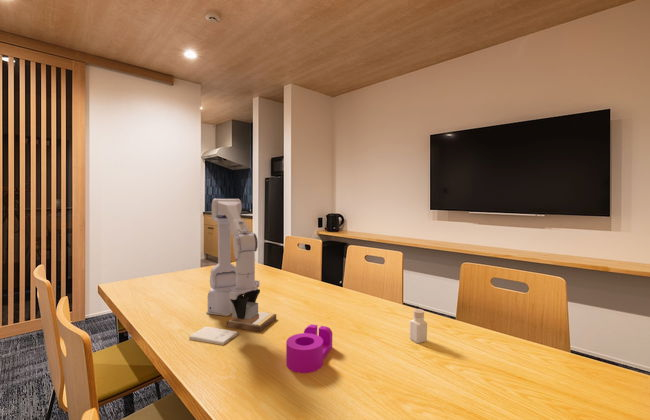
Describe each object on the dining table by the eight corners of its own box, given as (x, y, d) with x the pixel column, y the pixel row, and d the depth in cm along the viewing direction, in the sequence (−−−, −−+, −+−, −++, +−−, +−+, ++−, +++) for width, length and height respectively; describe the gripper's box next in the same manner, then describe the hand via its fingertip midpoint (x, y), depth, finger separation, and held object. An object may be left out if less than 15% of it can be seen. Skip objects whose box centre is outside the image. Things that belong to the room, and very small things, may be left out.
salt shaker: (417, 344, 98) (418, 314, 98) (408, 339, 102) (409, 309, 101) (427, 341, 100) (428, 311, 100) (418, 336, 104) (419, 307, 103)
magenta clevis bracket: (314, 377, 81) (315, 352, 80) (279, 369, 84) (279, 346, 84) (334, 348, 96) (334, 327, 95) (304, 343, 99) (304, 323, 99)
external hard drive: (206, 330, 108) (238, 335, 104) (189, 341, 100) (223, 347, 97) (206, 325, 108) (238, 330, 104) (189, 336, 100) (223, 341, 96)
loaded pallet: (231, 321, 99) (231, 305, 99) (239, 315, 104) (239, 300, 104) (251, 324, 97) (251, 307, 97) (259, 318, 102) (259, 303, 102)
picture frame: (226, 326, 110) (226, 321, 110) (245, 314, 121) (245, 309, 121) (260, 331, 106) (260, 325, 106) (276, 318, 118) (276, 313, 117)
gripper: (244, 279, 92) (244, 325, 92) (267, 268, 106) (267, 308, 106) (223, 277, 94) (223, 322, 95) (248, 266, 108) (248, 306, 108)
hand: (245, 315), depth 101 cm, fingers closed on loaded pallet, 5 cm apart
